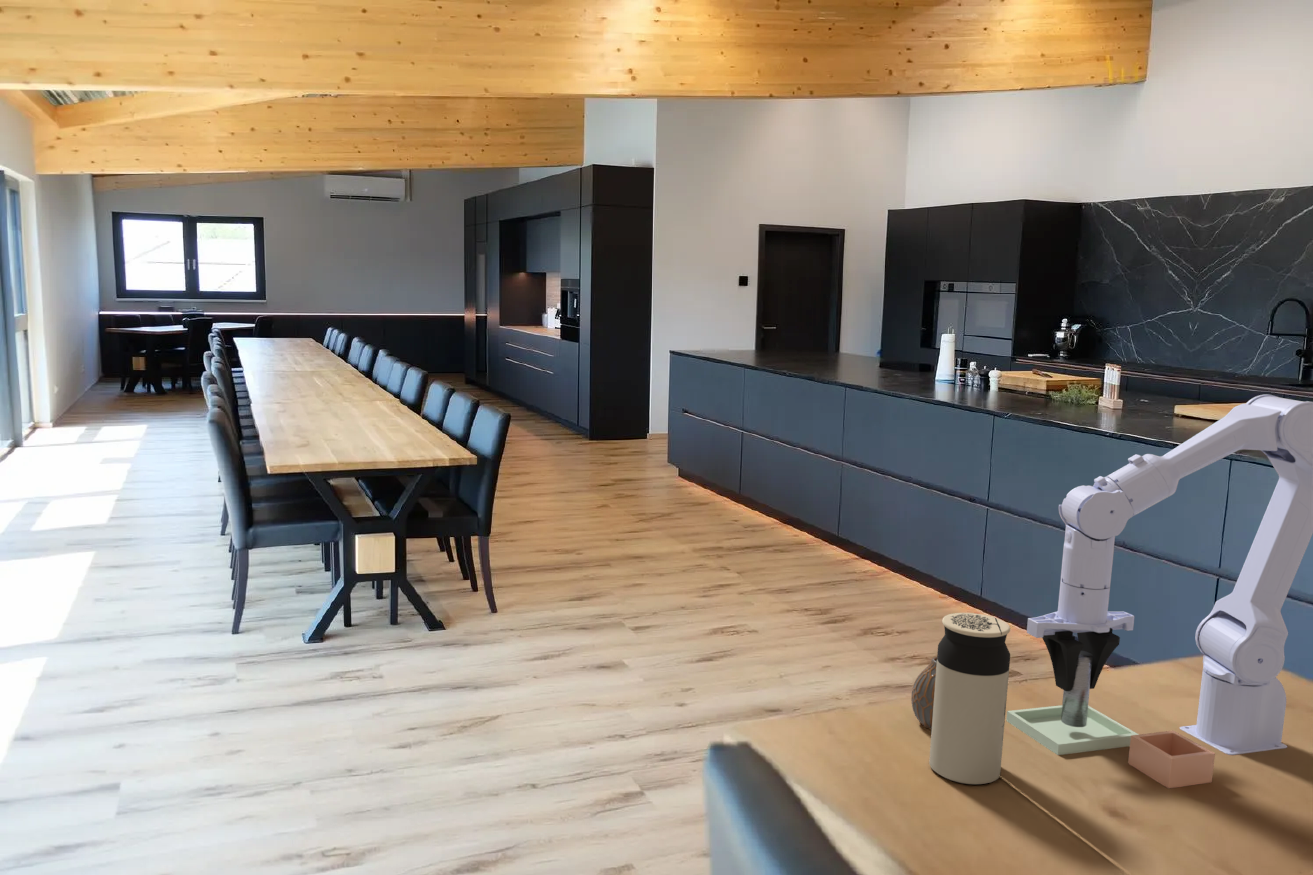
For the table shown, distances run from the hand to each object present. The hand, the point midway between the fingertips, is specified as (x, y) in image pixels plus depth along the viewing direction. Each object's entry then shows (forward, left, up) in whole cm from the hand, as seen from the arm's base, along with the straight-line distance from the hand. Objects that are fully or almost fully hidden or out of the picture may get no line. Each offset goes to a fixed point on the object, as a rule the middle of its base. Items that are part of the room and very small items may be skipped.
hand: (1075, 686), depth 127 cm
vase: (+15, -7, -7) cm, 18 cm away
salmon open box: (-4, +12, -6) cm, 14 cm away
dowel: (0, 0, -4) cm, 5 cm away
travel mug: (+19, +5, -7) cm, 21 cm away
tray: (0, 0, -6) cm, 6 cm away
